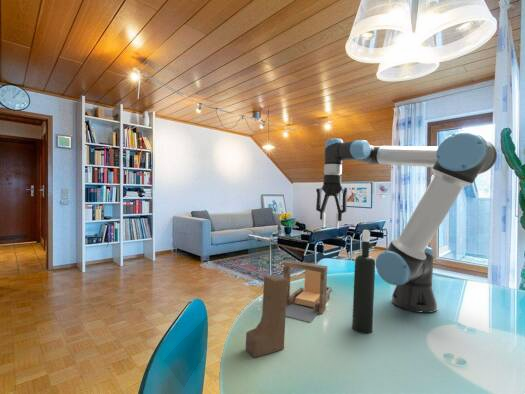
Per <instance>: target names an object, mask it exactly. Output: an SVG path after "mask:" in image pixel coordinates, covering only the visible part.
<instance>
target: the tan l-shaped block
mask: <svg viewBox="0 0 525 394" xmlns="http://www.w3.org/2000/svg"><path fill="white" fill-rule="evenodd" d="M320 277H321V272H317V271H311V270H304V287H303V288H304V291H303V292H302V293H301V294H299V295H298V296H297V297H296V298H295V302H294V303H295V305H300V306H301V305H302V306H304V307H306V306H307V307H309V308H315V304H316V303H317V302H318V301H319V300H320Z"/></svg>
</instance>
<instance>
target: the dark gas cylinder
mask: <svg viewBox="0 0 525 394" xmlns="http://www.w3.org/2000/svg"><path fill="white" fill-rule="evenodd" d="M361 236H362V237H361V241H362V242H361V243H362V245H361V254H360V255H358V256H356V257H355V259H354V277H353V279H354V280H353V298H352V299H353V300H352V302H353V303H352V321H351V322H352V323H351V328H352V330H353V331H355V332H357V333H359V334H363V335H368V334H372V333H373V322H374V321H373V320H374V303H375V301H374V299H375V298H374V297H375V296H374V295H375V277H376V275H375V274H376V259H374V258H373V257H372V256H371V255H369V254H370V240H371V238H370V237H371V232H370V229H363V231H362V235H361Z"/></svg>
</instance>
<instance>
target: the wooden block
mask: <svg viewBox="0 0 525 394" xmlns="http://www.w3.org/2000/svg"><path fill="white" fill-rule="evenodd" d="M262 293H263V294H262V313H261V314H262V315H261V318H260V321H259V323H257V325H256V327H255V328H253V329H251V330H249V331H246V333H245V334H246V335H245V350H246V352H248V353H249V355H251V356H252V358H260V357H262V356H264V355H269V354H272V353H275V352H279V351H281V350H284V348H285V336H286V335H285V334H286V333H285V332H286V317H285V315H286V293H287V279H286V278H284V277H283V276H281V275H280V274H274V275H273V274H272V275H266V276H264V277H263V292H262Z"/></svg>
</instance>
